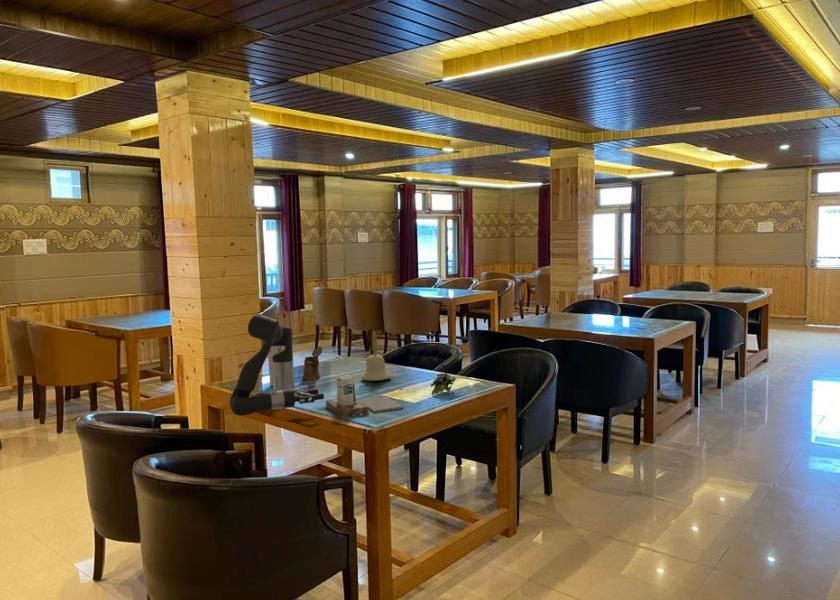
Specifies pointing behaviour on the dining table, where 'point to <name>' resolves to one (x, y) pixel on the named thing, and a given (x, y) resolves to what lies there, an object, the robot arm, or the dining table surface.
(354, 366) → the dining table surface
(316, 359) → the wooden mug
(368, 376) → the handbell
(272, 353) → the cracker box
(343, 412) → the pocket block
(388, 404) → the slate tile
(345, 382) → the syrup box
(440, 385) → the green leafy plant
